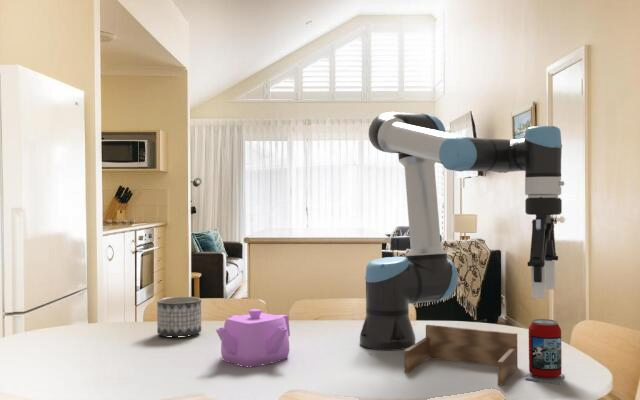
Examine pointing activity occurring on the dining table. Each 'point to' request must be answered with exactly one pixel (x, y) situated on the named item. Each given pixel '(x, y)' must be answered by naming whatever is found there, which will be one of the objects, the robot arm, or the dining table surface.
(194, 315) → the planter
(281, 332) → the teakettle
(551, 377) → the beverage can
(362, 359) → the dining table surface
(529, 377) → the mat
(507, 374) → the partition
